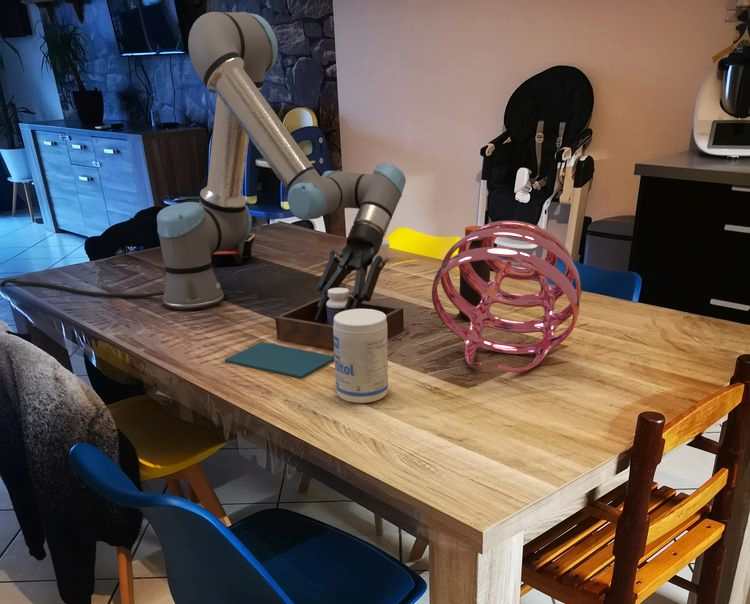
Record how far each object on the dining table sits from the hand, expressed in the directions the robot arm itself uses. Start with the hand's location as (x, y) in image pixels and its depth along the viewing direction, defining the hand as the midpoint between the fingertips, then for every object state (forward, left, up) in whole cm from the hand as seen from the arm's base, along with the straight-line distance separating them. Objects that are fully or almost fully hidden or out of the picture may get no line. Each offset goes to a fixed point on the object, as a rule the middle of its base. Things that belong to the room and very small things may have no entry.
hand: (330, 324), depth 163 cm
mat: (-2, -15, -3) cm, 16 cm away
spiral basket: (+39, +6, -4) cm, 40 cm away
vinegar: (+21, +28, -4) cm, 35 cm away
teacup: (-30, +65, -4) cm, 71 cm away
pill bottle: (0, +4, -4) cm, 5 cm away
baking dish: (-71, +45, -4) cm, 84 cm away
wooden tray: (0, +4, -3) cm, 5 cm away
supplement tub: (+23, -22, -4) cm, 32 cm away
